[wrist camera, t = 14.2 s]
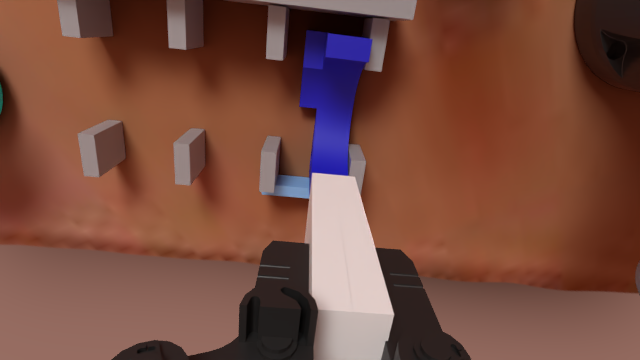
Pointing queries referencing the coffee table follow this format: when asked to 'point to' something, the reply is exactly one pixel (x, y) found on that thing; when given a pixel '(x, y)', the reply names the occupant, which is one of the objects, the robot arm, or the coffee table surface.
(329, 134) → the blue curved block
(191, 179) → the grey peg rack
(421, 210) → the coffee table surface
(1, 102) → the donuts
